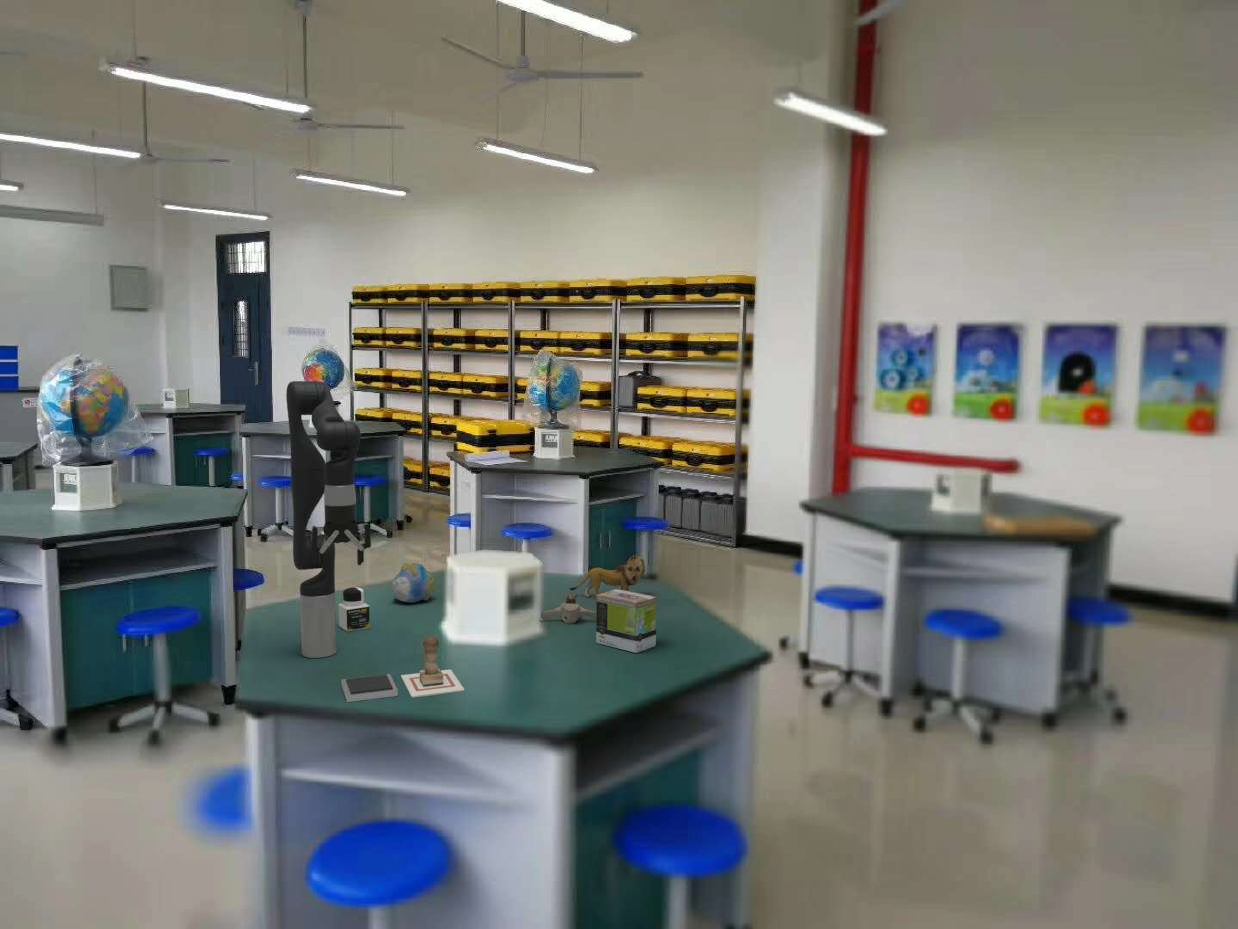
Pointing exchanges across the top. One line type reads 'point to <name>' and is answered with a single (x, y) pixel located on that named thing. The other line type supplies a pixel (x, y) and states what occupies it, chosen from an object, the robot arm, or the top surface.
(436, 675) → the stamp
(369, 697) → the ink pad
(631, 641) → the tea box
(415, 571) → the decorative rock
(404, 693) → the top surface
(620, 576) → the animal model
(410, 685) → the card
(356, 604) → the medicine bottle
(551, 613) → the vertebra
